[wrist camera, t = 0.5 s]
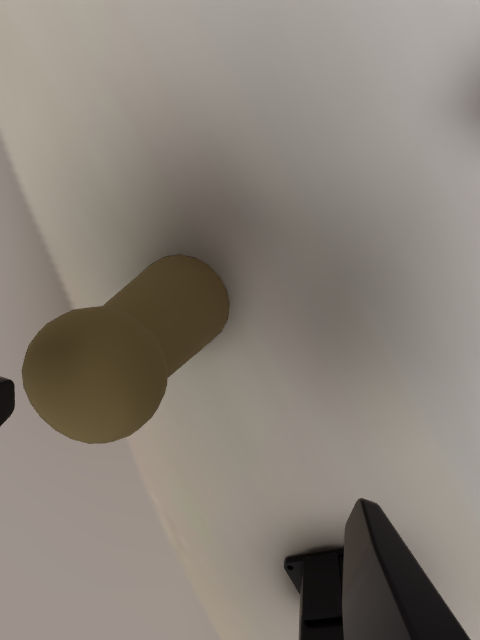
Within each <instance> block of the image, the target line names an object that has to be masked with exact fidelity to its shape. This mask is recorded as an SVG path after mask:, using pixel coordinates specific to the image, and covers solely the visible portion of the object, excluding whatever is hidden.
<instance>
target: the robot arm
mask: <svg viewBox="0 0 480 640" xmlns="http://www.w3.org/2000/svg"><path fill="white" fill-rule="evenodd" d="M14 406H15V392H14V383H13V381H12V380H10V379H7V378H4V377H1V376H0V426H1V425H2V424H3V423H4V422H5V421H6V420H7V419H8V418H9V417H10V415H11V414H12V412H13V410H14ZM284 569H285V570H286V572H287V574H288V575H289V577H290V579H291V580H292V582H293V584H294V585H295V587H296V588H297V590H298V592H299V593H300V619H299V640H471V639H470V638H469V637H468V635H467V634H466V632H465V631H464V629H463V628H462V626H461V625H460V623H459V622H458V620H457V619H456V618H455V616H454V615H453V613H452V612H451V610H450V609H449V607H448V606H447V604H446V603H445V601H444V600H443V598H442V597H441V596H440V594H439V593H438V591H437V590H436V588H435V587H434V585H433V584H432V582H431V581H430V579H429V578H428V576H427V575H426V574H425V572H424V571H423V569H422V568H421V566H420V565H419V563H418V562H417V560H416V559H415V557H414V556H413V554H412V553H411V552H410V550H409V549H408V547H407V546H406V544H405V543H404V541H403V540H402V538H401V537H400V535H399V534H398V532H397V531H396V530H395V528H394V527H393V525H392V524H391V522H390V521H389V519H388V518H387V516H386V515H385V513H384V512H383V510H382V509H381V508H380V506H379V505H378V504H377V503H375V502H372V501H369V500H366V499H363V498H360V499H358V500H357V502H356V504H355V506H354V508H353V510H352V512H351V514H350V516H349V518H348V520H347V523H346V526H345V535H344V549H340V550H334V551H328V552H322V553H316V554H310V555H304V556H298V557H292V558H287V559H285V561H284Z"/></svg>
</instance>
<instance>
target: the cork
mask: <svg viewBox="0 0 480 640" xmlns="http://www.w3.org/2000/svg"><path fill="white" fill-rule="evenodd" d="M228 313H229V300H228V295H227V290H226V288H225V286H224V284H223V282H222V281H221V279H220V277H219V276H218V275H217V274H216V273H215V272H214V271H213V270H212V269H211V268H210V267H209V266H208V265H207V264H205V263H203V262H201V261H199V260H198V259H196V258H194V257H188V256H183V255H174V256H168V257H163V258H162V259H160V260H158V261H156V262H154V263H153V264H151V265H150V266H149V267H148V268H147V269H145V270H144V271H143V272H142V273H141V274H140V275H138V276H137V277H136V278H135V279H134V280H133V281H131V282H130V283H129V284H128V285H127V286H125V287H124V288H123V289H122V290H121V291H120V292H118V293H117V294H116V295H115V296H114V297H113V298H111V299H110V300H109V301H108V302H107V303H106V304H104V305H103V306H100V307H91V308H83V309H75V310H72V311H70V312H67V313H65V314H63V315H61V316H59V317H58V318H56V319H54V320H53V321H51V322H49V323H47V324H46V325H45V326H44V327H43V328H42V329H41V330H40V331H39V332H38V333H37V335H36V336H35V338H34V339H33V340H32V342H31V343H30V344H29V346H28V349H27V352H26V355H25V359H24V363H23V367H22V378H23V386H24V389H25V392H26V394H27V396H28V399H29V401H30V403H31V405H32V406H33V407H34V409H35V410H36V412H37V413H38V414H39V416H40V417H41V418H42V419H43V420H44V421H45V422H47V423H48V424H49V425H50V426H51V427H52V428H53V429H55V430H56V431H58V432H60V433H61V434H63V435H65V436H67V437H69V438H70V439H73V440H77V441H81V442H84V443H88V444H93V443H108V442H113V441H116V440H119V439H122V438H124V437H127V436H130V435H131V434H133V433H134V432H135V431H137V430H138V429H139V428H141V427H142V426H143V425H144V424H145V423H146V422H147V421H148V420H149V419H151V418H152V416H153V415H154V413H155V412H156V410H157V409H158V407H159V405H160V402H161V400H162V398H163V396H164V394H165V390H166V386H167V378H168V377H169V376H170V375H172V374H173V373H174V372H175V371H176V370H178V369H179V368H180V367H181V366H182V365H183V364H185V363H186V362H187V361H188V360H189V359H191V358H192V357H193V356H194V355H195V354H196V353H198V352H199V351H200V350H201V349H202V348H204V347H205V346H206V345H207V344H208V343H209V342H211V341H212V340H213V339H214V338H215V337H216V336H217V335H218V334H219V333H220V332H221V331H222V329H223V327H224V325H225V323H226V321H227V319H228Z"/></svg>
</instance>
